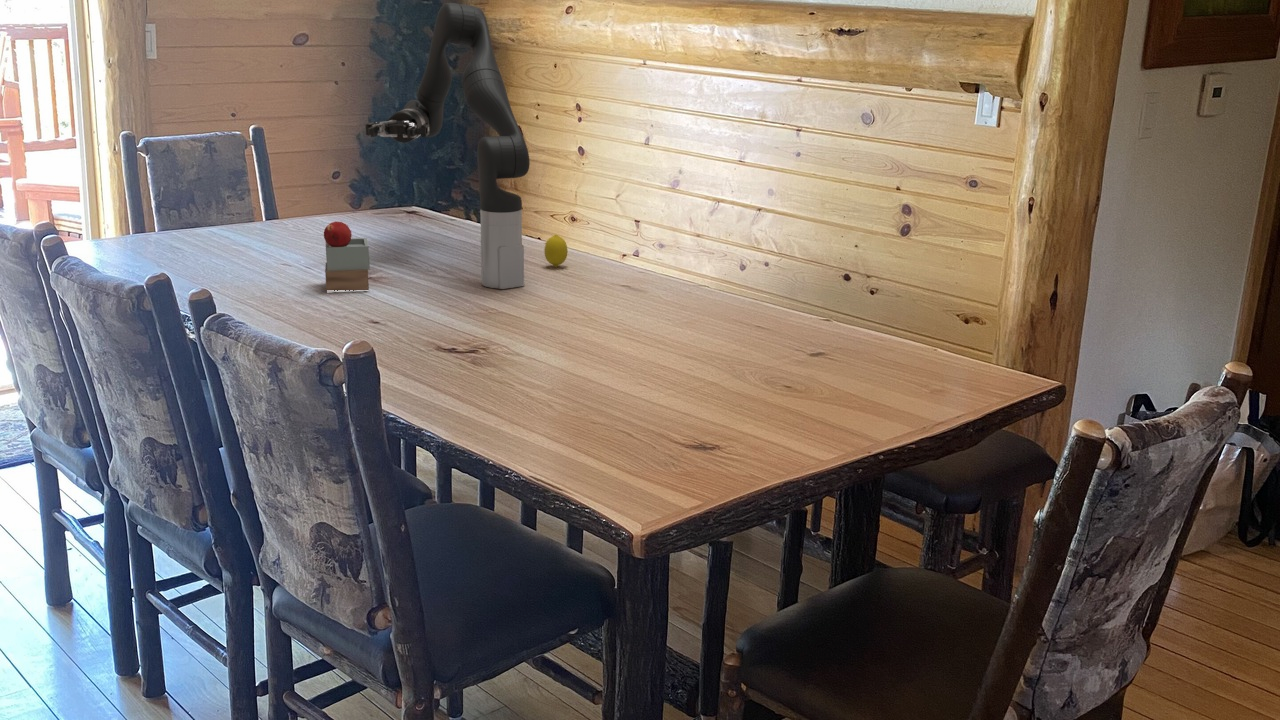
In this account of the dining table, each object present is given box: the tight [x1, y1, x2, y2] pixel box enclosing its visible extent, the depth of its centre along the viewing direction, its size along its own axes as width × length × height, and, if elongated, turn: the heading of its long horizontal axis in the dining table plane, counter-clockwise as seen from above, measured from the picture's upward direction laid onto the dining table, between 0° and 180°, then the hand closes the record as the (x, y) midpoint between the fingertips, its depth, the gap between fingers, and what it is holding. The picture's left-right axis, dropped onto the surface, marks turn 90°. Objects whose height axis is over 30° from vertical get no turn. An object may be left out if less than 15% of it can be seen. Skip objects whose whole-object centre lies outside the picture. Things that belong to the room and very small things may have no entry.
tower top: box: [324, 237, 371, 271], centre depth 257 cm, size 9×9×5 cm
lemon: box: [544, 234, 568, 268], centre depth 281 cm, size 6×6×8 cm
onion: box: [323, 221, 353, 247], centre depth 253 cm, size 6×6×8 cm
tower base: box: [324, 262, 370, 291], centre depth 257 cm, size 9×9×5 cm
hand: (390, 132), depth 267 cm, fingers open, 8 cm apart
